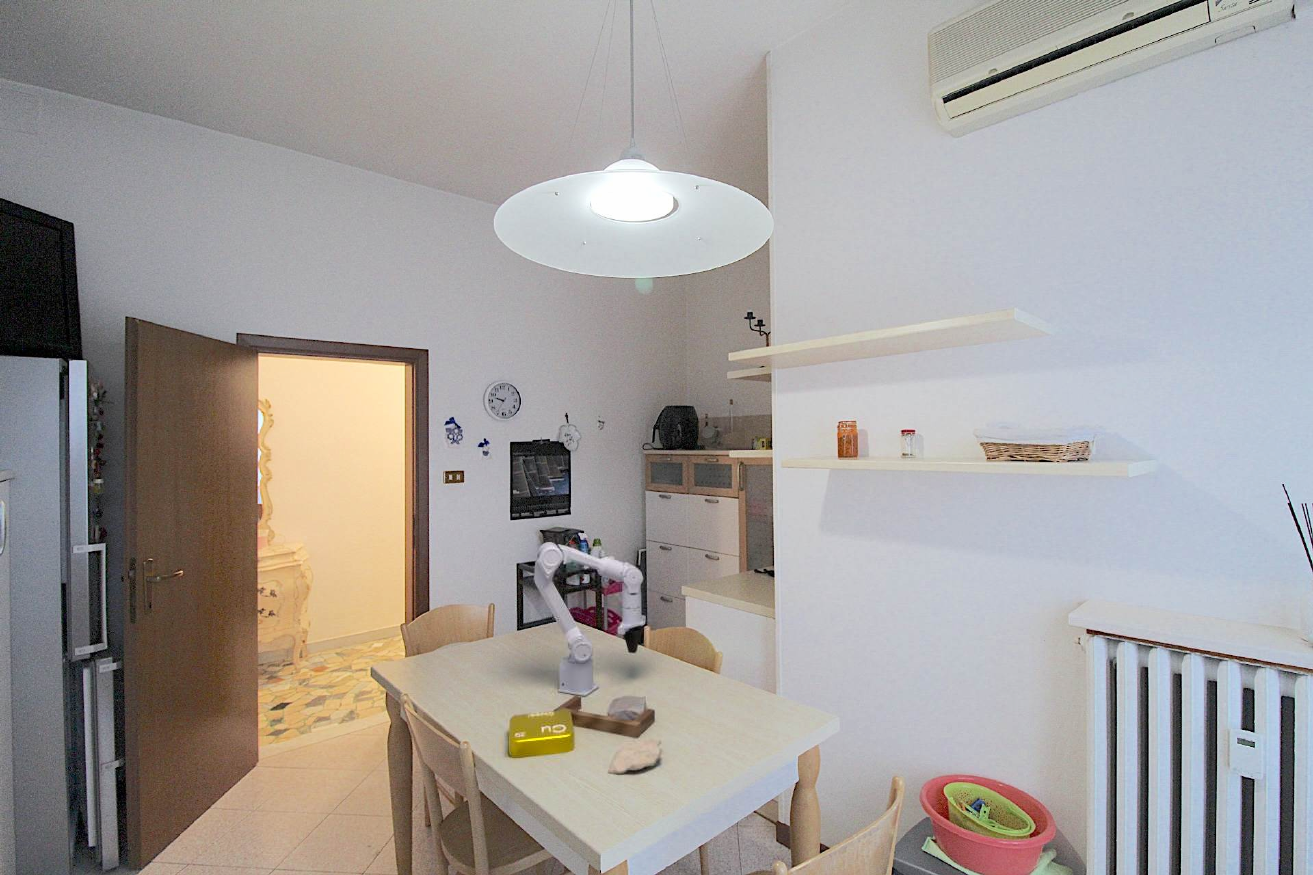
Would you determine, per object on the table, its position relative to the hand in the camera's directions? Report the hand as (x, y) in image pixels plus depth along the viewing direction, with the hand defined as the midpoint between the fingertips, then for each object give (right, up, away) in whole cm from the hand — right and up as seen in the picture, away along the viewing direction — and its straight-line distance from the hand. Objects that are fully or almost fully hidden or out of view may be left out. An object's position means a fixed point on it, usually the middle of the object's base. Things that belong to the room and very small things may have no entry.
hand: (632, 652), depth 186 cm
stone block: (-1, -9, -22) cm, 24 cm away
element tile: (-21, -10, -36) cm, 42 cm away
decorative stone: (+3, -9, -47) cm, 48 cm away
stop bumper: (-6, -9, -26) cm, 28 cm away
